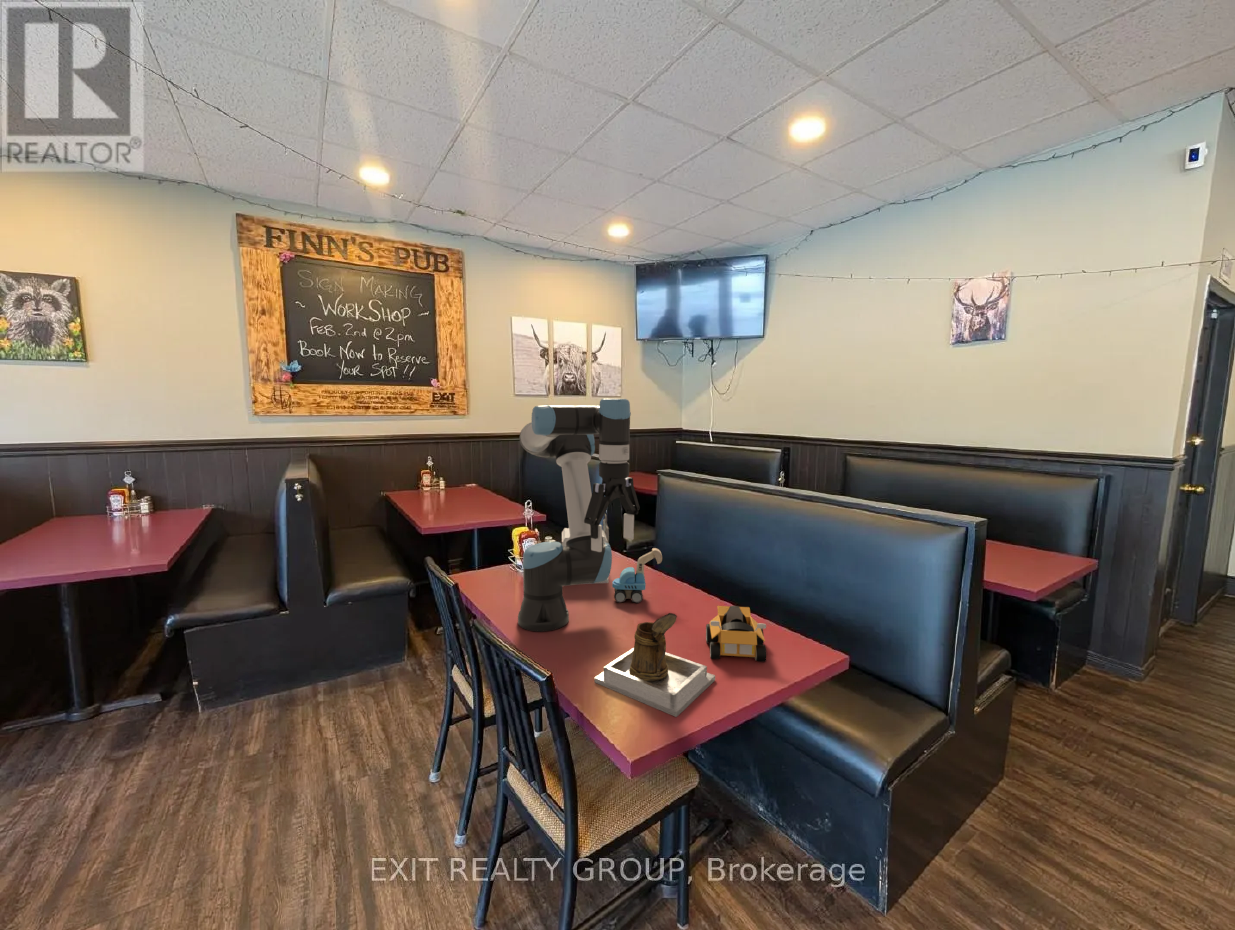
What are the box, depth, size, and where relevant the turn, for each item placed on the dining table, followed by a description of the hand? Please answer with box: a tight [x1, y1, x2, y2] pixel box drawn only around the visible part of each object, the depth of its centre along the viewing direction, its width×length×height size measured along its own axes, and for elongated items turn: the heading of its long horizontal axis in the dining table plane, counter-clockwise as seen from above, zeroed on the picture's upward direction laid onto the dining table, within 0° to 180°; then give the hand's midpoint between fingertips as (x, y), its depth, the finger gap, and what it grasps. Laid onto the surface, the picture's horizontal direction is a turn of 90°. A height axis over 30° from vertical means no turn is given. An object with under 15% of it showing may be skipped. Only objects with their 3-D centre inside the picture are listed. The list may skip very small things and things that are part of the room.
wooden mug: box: [629, 612, 677, 682], centre depth 116 cm, size 9×14×18 cm, turn 26°
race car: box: [705, 605, 767, 663], centre depth 133 cm, size 15×15×11 cm
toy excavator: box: [611, 547, 663, 604], centre depth 168 cm, size 9×17×17 cm, turn 89°
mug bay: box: [594, 647, 716, 718], centre depth 117 cm, size 22×18×4 cm
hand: (613, 544), depth 127 cm, fingers open, 13 cm apart
